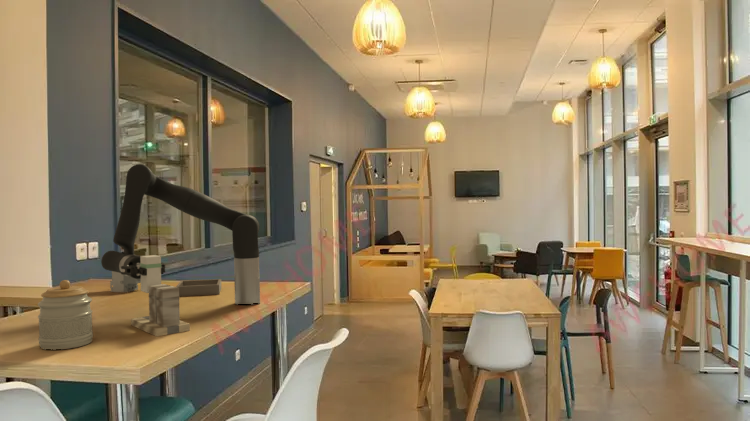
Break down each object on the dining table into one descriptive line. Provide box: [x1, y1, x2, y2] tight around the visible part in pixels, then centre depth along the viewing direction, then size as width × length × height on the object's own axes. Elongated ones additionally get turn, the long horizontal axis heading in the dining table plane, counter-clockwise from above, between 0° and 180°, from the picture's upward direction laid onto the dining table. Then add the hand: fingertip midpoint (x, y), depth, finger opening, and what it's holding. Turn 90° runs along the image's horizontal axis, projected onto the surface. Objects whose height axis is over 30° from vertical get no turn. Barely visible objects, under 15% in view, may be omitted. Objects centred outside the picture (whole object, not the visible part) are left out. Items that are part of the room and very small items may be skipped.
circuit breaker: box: [109, 271, 141, 293], centre depth 241 cm, size 8×14×15 cm, turn 78°
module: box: [139, 254, 162, 294], centre depth 174 cm, size 5×5×11 cm
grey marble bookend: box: [130, 283, 191, 337], centre depth 170 cm, size 20×10×13 cm, turn 43°
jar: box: [37, 279, 94, 351], centre depth 151 cm, size 13×13×18 cm
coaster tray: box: [175, 278, 222, 297], centre depth 235 cm, size 17×17×4 cm
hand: (154, 271), depth 172 cm, fingers closed on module, 4 cm apart
